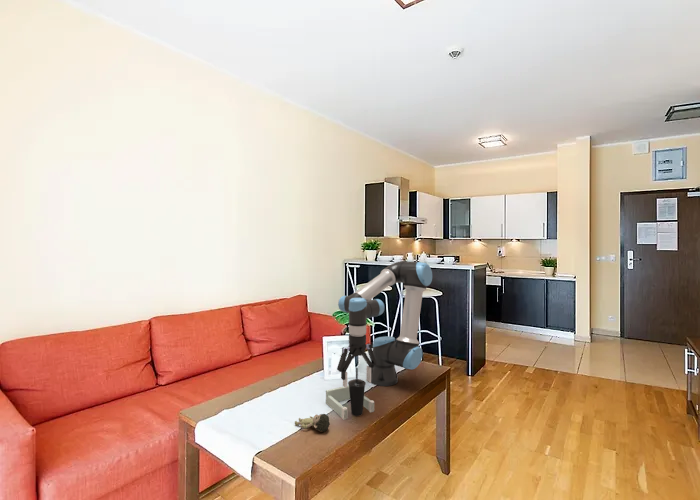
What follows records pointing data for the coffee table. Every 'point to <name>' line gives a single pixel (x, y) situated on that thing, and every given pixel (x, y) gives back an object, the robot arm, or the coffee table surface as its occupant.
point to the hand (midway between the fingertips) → (357, 384)
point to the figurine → (315, 422)
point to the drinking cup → (356, 395)
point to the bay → (340, 395)
